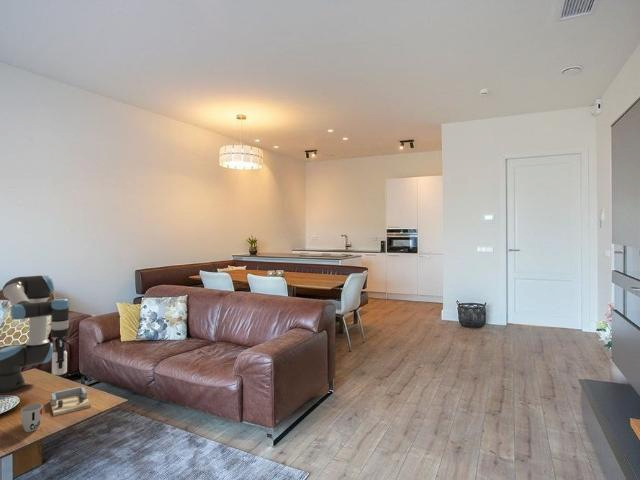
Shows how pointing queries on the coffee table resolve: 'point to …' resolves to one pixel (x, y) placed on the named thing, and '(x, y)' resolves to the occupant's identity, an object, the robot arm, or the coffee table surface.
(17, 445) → the coffee table surface
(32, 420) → the cup
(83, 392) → the grey frame
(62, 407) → the base plate
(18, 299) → the robot arm
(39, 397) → the coffee table surface
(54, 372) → the can
